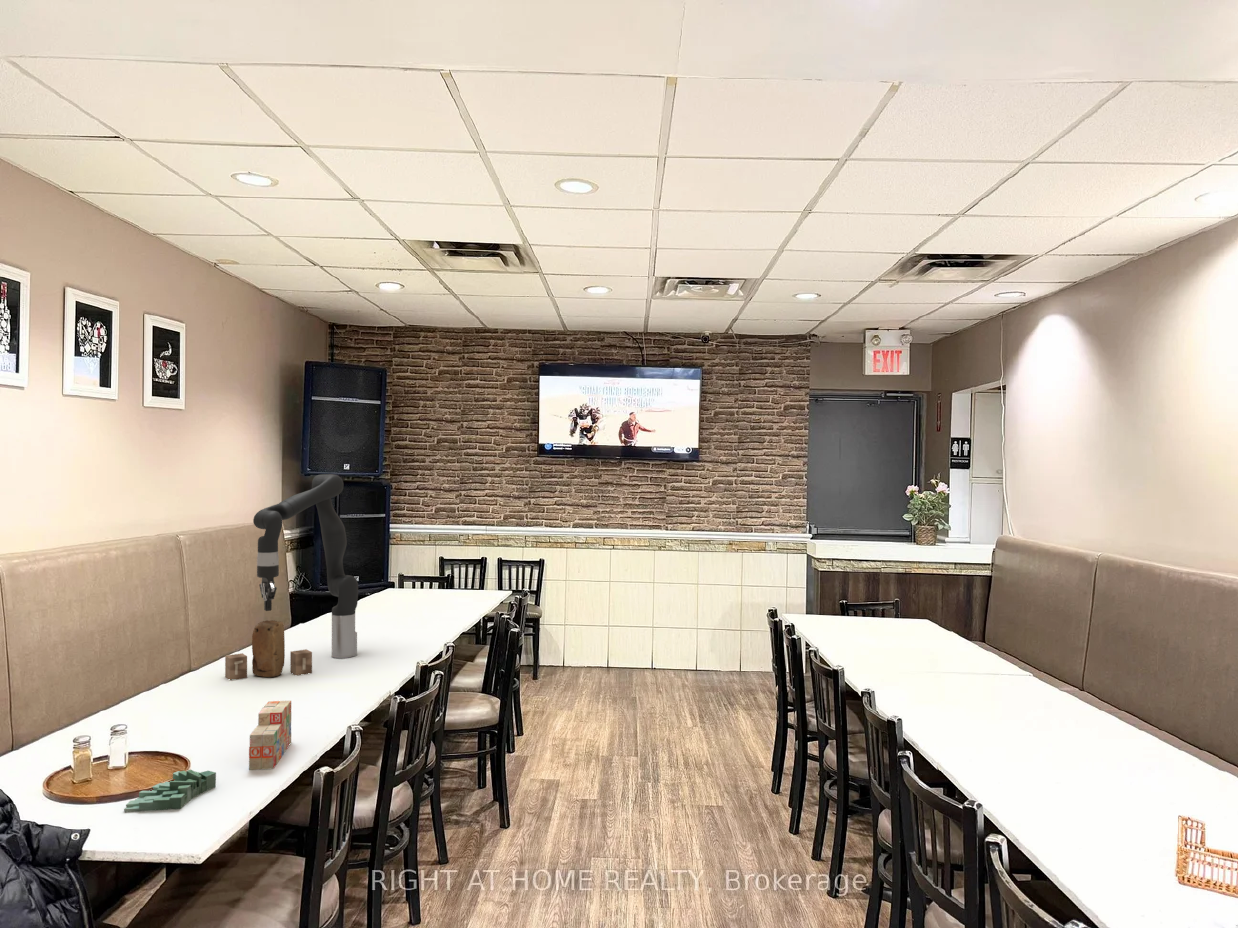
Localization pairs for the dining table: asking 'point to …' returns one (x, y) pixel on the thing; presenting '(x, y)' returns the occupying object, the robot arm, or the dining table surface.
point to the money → (173, 791)
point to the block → (268, 648)
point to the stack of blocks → (270, 735)
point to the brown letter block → (236, 666)
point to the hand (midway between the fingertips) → (267, 610)
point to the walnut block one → (301, 662)
